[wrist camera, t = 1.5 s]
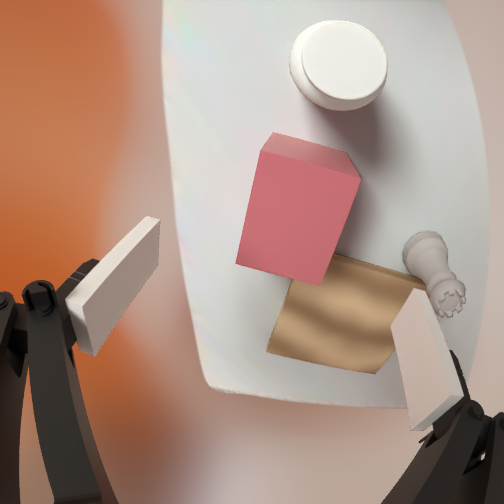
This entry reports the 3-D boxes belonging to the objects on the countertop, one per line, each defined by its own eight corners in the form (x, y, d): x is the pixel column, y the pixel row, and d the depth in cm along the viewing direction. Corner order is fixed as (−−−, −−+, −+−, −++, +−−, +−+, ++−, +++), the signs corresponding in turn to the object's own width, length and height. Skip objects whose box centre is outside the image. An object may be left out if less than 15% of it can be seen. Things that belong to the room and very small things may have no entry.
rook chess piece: (451, 248, 24) (484, 301, 18) (418, 277, 27) (441, 335, 20) (426, 218, 24) (461, 269, 17) (392, 250, 26) (414, 308, 19)
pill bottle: (358, 36, 17) (392, 7, 9) (369, 102, 20) (409, 114, 11) (287, 42, 18) (274, 13, 10) (300, 107, 21) (296, 121, 13)
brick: (273, 132, 22) (260, 150, 17) (346, 152, 22) (361, 179, 16) (252, 220, 27) (235, 263, 21) (318, 237, 27) (319, 286, 21)
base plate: (304, 245, 27) (303, 251, 26) (432, 282, 27) (435, 289, 26) (267, 344, 35) (266, 352, 34) (374, 366, 34) (374, 374, 33)
